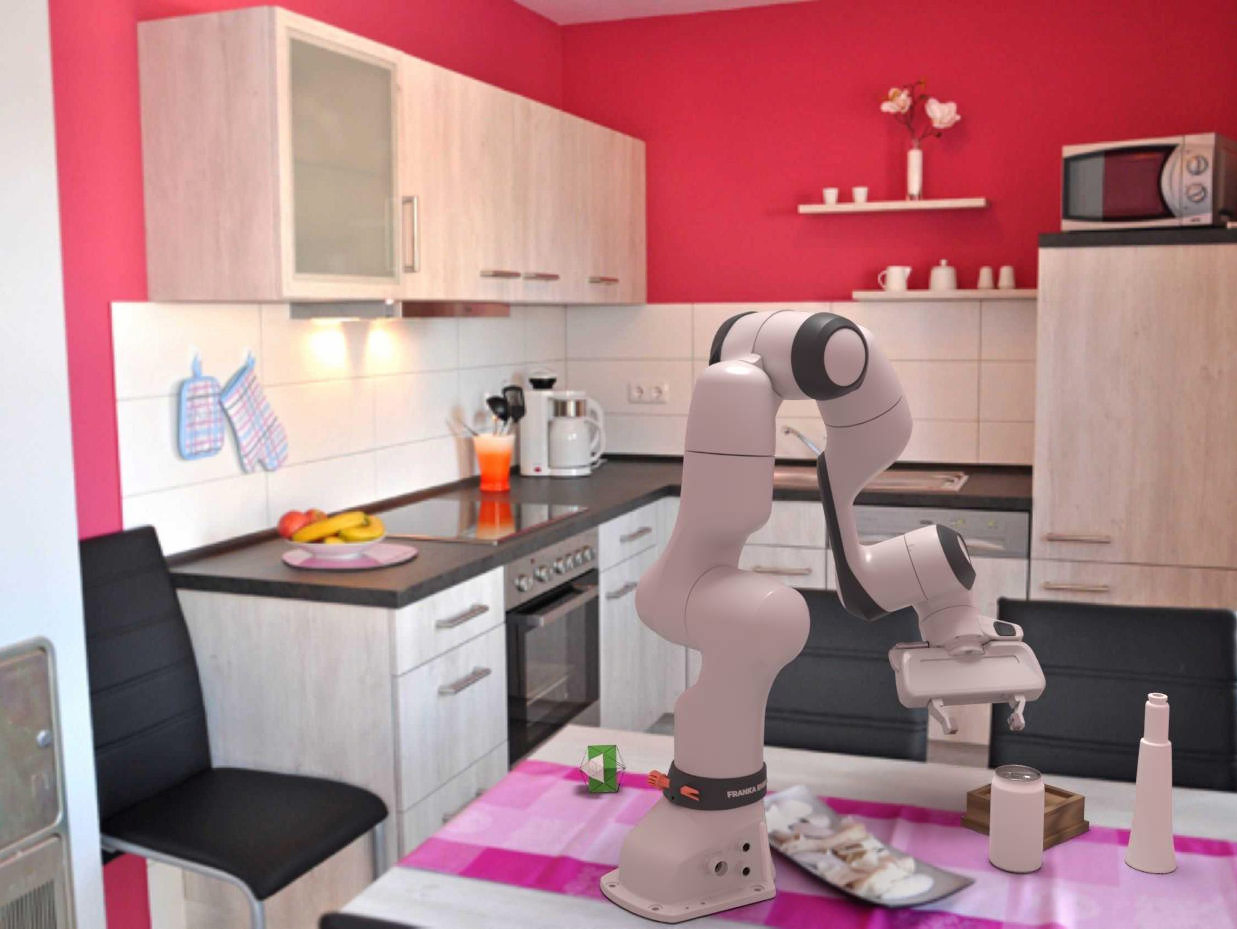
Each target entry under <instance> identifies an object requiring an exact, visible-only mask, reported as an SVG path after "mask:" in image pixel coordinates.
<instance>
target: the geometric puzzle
mask: <svg viewBox="0 0 1237 929" xmlns="http://www.w3.org/2000/svg"><path fill="white" fill-rule="evenodd" d="M618 748H619V747H618V746H617V744H602V745H598V744H597V745H590V744H589V745H588V744H587V748H586V750H585V753H584V755H583V758H582V762H581V764H580V767H579V769H578V770H579V773H580V774H583V773H584V774H585V775H587V776H588V784H586V779H585V777H584V776H583V775H581V777H582V778H583V782H584V784H585V786H586V788H587V791H588V793H589V792H592V793H606V792H605V791H618V792H619V790H620V789H619V788H620V785H621V782H622V780H623V778H624V775H625V772H626V769H627V767H626V765H625V764H624V759H623V757H622V756H621V754H620V753H618V756H619V757H620V761H621V762H622V764H621V763H620V762H618V761H617V751H618V752H620V750H619V749H618ZM586 753H587V757H588V758H587V762H586V763H584V764H583V761H584V759H585V756H586ZM582 765H583V766H582ZM618 766H619V767H618ZM618 769H621V770H620V771H618ZM622 771H623V772H622ZM621 772H622V774H621V778H620V781H619V784H618V774H619V773H621ZM587 785H588V786H587Z"/></svg>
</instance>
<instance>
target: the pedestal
mask: <svg viewBox="0 0 1237 929" xmlns="http://www.w3.org/2000/svg"><path fill="white" fill-rule="evenodd" d="M991 783H992V782H991ZM991 783H987V784H985V785H983V786H980V787H978V788H975V789H972V790H970V791H967V792H966V810H965V812H966V814H964V815H963V816H961V817H960V827H964V828H966V829H969V830H973V831H974V832H975V831H976V832H978V833H980V834H984V835H986V836H989V837H990V806H991ZM1043 784H1044V789H1045V794H1044V829H1043V851H1046V850H1048V849H1050V848H1052V847H1055V846H1057V845H1059V844H1061V843H1063V842H1066V841H1068V840H1070V839H1072V838H1074V837H1076V836H1079V835H1081V834H1083V833H1086V832H1088V831H1090V821H1089V820H1086V819H1085V806H1086V801H1085V800H1086V796H1085V795H1083V794H1079V793H1075V792H1072V791H1069V790H1066V789H1063V788H1060V787H1057V786H1053V785H1051V784H1047V783H1044V782H1043Z"/></svg>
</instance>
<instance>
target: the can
mask: <svg viewBox="0 0 1237 929" xmlns="http://www.w3.org/2000/svg"><path fill="white" fill-rule="evenodd" d="M994 773H995V774H994V776H993V778H992V780H991V806H990V836H989V840H988V841H989V843H988V844H989V846H988V847H989V848H988V851H989V852H988V853H989V854H988V855H989V856H988V858H989V861H990V862H991V864H992V865H993V866H994V867H995V868H997V869H999V870H1001V871H1004V872H1008V873H1014V874H1030V873H1033V872H1036V871H1038V870H1039V869H1040V868H1041V866H1042V865H1043V829H1044V794H1045V789H1044V784H1045V783H1044V782H1043V780H1042V776H1043V775H1042V772H1040V770H1038V769H1036V768H1033V767H1031V766H1026V765H1019V764H1006V765H1005V764H1004V765H1001V766H998V767H996V768H995V770H994ZM1043 783H1044V784H1043Z"/></svg>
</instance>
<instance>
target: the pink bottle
mask: <svg viewBox="0 0 1237 929" xmlns="http://www.w3.org/2000/svg"><path fill="white" fill-rule="evenodd" d="M1147 699H1148V700H1146V701H1145V708H1144V733H1143V737H1142V738H1141V739H1140V741H1139V748H1138V749H1139V750H1138V758H1137V759H1138V760H1137V770H1136V781H1135V791H1134V802H1133V810H1132V811H1133V813H1132V821H1131V827H1130V828H1131V829H1130V833H1129V839H1128V840H1129V841H1128V844H1127V850H1126V853H1125V857H1124V861H1125V863H1126V864H1127V865H1128V866H1129V867H1131V868H1133V869H1135V870H1137V871H1141V872H1143V871H1144V872H1143V873H1149V874H1156V873H1160V874H1161V873H1163V874H1168V873H1172V872H1174V871H1176V869H1177V859H1176V852H1175V844H1174V832H1173V830H1174V829H1173V828H1174V827H1173V769H1172V768H1173V766H1172V765H1173V764H1172V763H1173V760H1172V757H1173V755H1172V754H1173V753H1172V742H1171V741H1170V740H1169V724H1170V722H1169V720H1170V705H1169V703H1168V702H1167V701H1168V696H1167V695H1166V694H1163V693H1159V692H1153V693H1148V694H1147ZM1160 874H1159V875H1160Z"/></svg>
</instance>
